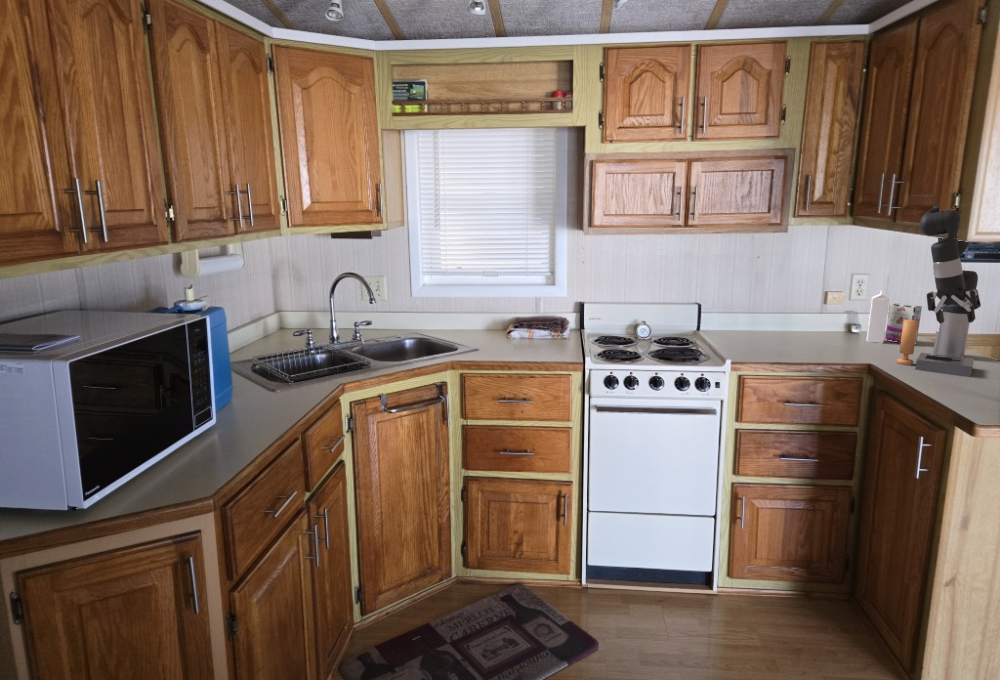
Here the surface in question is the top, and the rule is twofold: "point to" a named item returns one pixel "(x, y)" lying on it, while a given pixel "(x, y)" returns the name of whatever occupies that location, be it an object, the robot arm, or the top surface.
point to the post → (907, 341)
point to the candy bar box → (901, 319)
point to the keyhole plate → (944, 364)
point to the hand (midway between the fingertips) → (956, 322)
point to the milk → (877, 318)
